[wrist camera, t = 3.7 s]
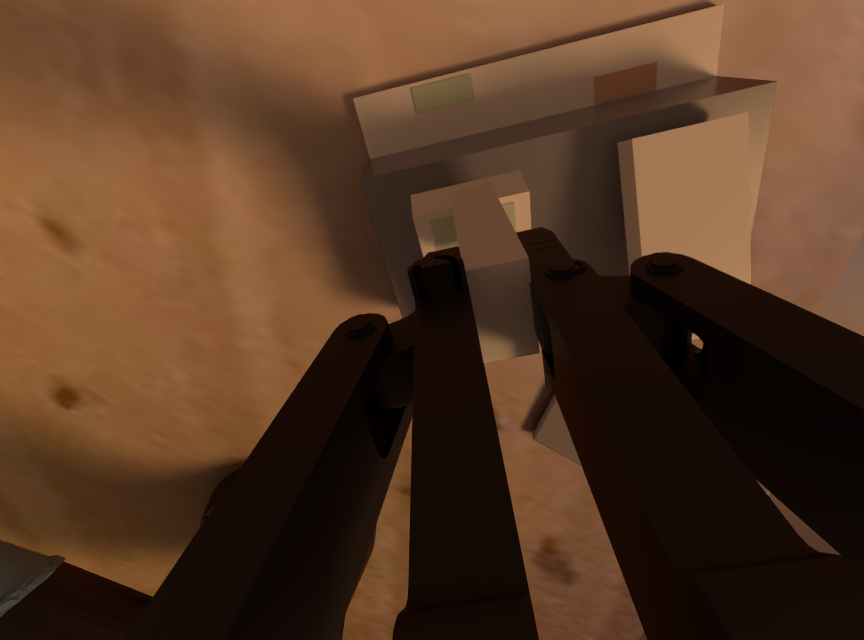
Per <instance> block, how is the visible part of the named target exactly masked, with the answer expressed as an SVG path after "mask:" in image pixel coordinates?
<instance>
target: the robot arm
mask: <svg viewBox="0 0 864 640" xmlns="http://www.w3.org/2000/svg"><path fill="white" fill-rule="evenodd" d="M449 195H450V200H451V206H452V211H453V216H454V222H455V227H456V233H457V238H458V244H459V246H457V247H452V248H447V249H443V250H438V251H433V252H429V253H427V254H426V256H425V257H423V258H421V259H419V260H417V261H415V262H414V263H413V264H412V265H410V266H409V268H408V270H407V274H408V277H409V281H410V285H411V288H412V292H413V295H414V299H415V311H414V312H413V313H411V314H410V315H408V316H407V317H405V318H403V319H401V320H398V321H396V322H393V323H391V324H388V322H387V320H386V318H385V317H384V316H382V315H380V314H373V313H368V314H363V315H362V314H360V315H356V316H355V317H354V316H353V317H351V318H349V319H348V320H346V321H345V322H343V323H342V324H340V325H339V326H338V327H337V328H336V329H335V330H334V332H333V333H332V335H331V336H330V338H329V339H328V340H327V342H326V343H325V345H324V346H323V348H322V349H321V351H320V352H319V354H318V355H317V357H316V358H315V360H314V361H313V363H312V364H311V365H310V367H309V368H308V370H307V371H306V373H305V374H304V376H303V377H302V379H301V380H300V382H299V383H298V385H297V386H296V388H295V389H294V391H293V392H292V393H291V395H290V396H289V398H288V399H287V401H286V402H285V404H284V405H283V407H282V408H281V410H280V411H279V413H278V414H277V416H276V417H275V418H274V420H273V421H272V423H271V424H270V426H269V427H268V429H267V430H266V432H265V433H264V435H263V436H262V438H261V439H260V441H259V442H258V443H257V445H256V446H255V448H254V449H253V451H252V452H251V454H250V455H249V457H248V458H247V460H246V461H245V463H244V464H243V466H242V467H241V468H240V470H238V471H236V472H234V473H232V474H230V475H229V476H227V477H226V478H225V479H223V480H222V481H221V482H220V483H219V484H218V485H217V487H216V488H215V490H214V491H213V493H212V495H211V498H210V500H209V502H208V504H207V506H206V508H205V510H204V513H203V515H202V519H201V523H200V529H199V530H198V532H197V533H196V535H195V536H194V538H193V539H192V541H191V542H190V544H189V545H188V546H187V548H186V549H185V551H184V552H183V554H182V555H181V557H180V558H179V560H178V561H177V563H176V564H175V566H174V567H173V569H172V570H171V572H170V573H169V574H168V576H167V577H166V579H165V580H164V582H163V583H162V585H161V586H160V588H159V589H158V591H157V592H156V594H155V595H154V597H152V596H150V595H147V594H145V593H142V592H140V591H137V590H135V589H132V588H129V587H127V586H124V585H122V584H119V583H117V582H114V581H112V580H109V579H107V578H104V577H102V576H99V575H97V574H94V573H92V572H89V571H87V570H84V569H82V568H79V567H76V566H74V565H71V564H69V563H66V562H64V560H65V558H64V557H61V556H59V555H52V556H47V555H44V554H41V553H38V552H35V551H31V550H28V549H25V548H22V547H19V546H16V545H13V544H10V543H7V542H4V541H1V540H0V640H342V635H343V628H344V621H345V615H346V611H347V608H348V606H349V604H350V602H351V599H352V597H353V595H354V592H355V590H356V588H357V586H358V583H359V581H360V579H361V576H362V574H363V572H364V570H365V567H366V565H367V563H368V560H369V558H370V556H371V553H372V551H373V547H374V543H375V535H376V524H377V520H378V517H379V514H380V511H381V508H382V505H383V502H384V499H385V496H386V493H387V490H388V487H389V484H390V481H391V478H392V475H393V472H394V469H395V466H396V463H397V460H398V458H399V455H400V452H401V449H402V446H403V443H404V440H405V437H406V434H407V431H408V428H409V425H410V422H411V419H412V416H413V419H412V460H411V502H410V543H409V585H408V600H407V604H406V607H405V608H404V609H403V610H402V611H401V612H400V613H399V614H398V615H397V619H396V622H395V626H394V630H393V640H539V637H538V632H537V627H536V622H535V617H534V612H533V607H532V602H531V597H530V592H529V587H528V582H527V577H526V572H525V567H524V562H523V557H522V552H521V547H520V542H519V537H518V532H517V527H516V522H515V517H514V512H513V507H512V502H511V497H510V492H509V487H508V482H507V477H506V472H505V467H504V462H503V457H502V452H501V447H500V442H499V437H498V432H497V427H496V422H495V417H494V412H493V407H492V402H491V397H490V392H489V387H488V382H487V377H486V372H485V367H484V363H488V362H494V361H499V360H505V359H510V358H515V357H521V356H526V355H531V354H537V353H539V344H538V340H539V342H540V345H541V347H542V356H543V365H544V374H545V383H546V388H549V387H550V383H551V386H552V389H553V391H554V394H555V397H556V399H557V402H558V405H559V407H560V410H561V412H562V415H563V418H564V420H565V423H566V426H567V428H568V431H569V434H570V436H571V439H572V442H573V444H574V447H575V450H576V452H577V455H578V457H579V460H580V463H581V465H582V468H583V471H584V473H585V476H586V479H587V481H588V484H589V487H590V489H591V492H592V494H593V497H594V500H595V502H596V505H597V508H598V510H599V513H600V516H601V518H602V521H603V524H604V526H605V529H606V532H607V534H608V537H609V539H610V542H611V545H612V547H613V550H614V553H615V555H616V558H617V561H618V563H619V566H620V569H621V571H622V574H623V577H624V579H625V582H626V584H627V587H628V590H629V592H630V595H631V598H632V600H633V603H634V606H635V608H636V611H637V614H638V616H639V619H640V622H641V624H642V627H643V629H644V632H645V634H646V637H647V640H864V336H862V335H860V334H857V333H855V332H853V331H850V330H848V329H846V328H844V327H842V326H840V325H837V324H836V323H833V322H831V321H829V320H827V319H825V318H822V317H820V316H818V315H816V314H814V313H812V312H809V311H807V310H805V309H803V308H801V307H798V306H796V305H794V304H792V303H790V302H788V301H785V300H783V299H781V298H779V297H777V296H774V295H772V294H770V293H768V292H766V291H764V290H761V289H759V288H757V287H755V286H753V285H750V284H748V283H746V282H744V281H742V280H740V279H737V278H735V277H733V276H731V275H729V274H726V273H724V272H722V271H720V270H718V269H716V268H713V267H711V266H709V265H707V264H705V263H702V262H700V261H698V260H696V259H694V258H692V257H689V256H685V255H682V254H676V253H670V252H662V253H660V252H657V253H653V254H650V255H645V256H642V257H640V258H638V259H636V260H635V261H634V262H633V263H632V264H631V265H630V275H628V276H600V275H598V274H597V273H596V272H595V270H594V269H593V268H592V266H591V265H589V264H588V263H587V262H585V261H581V260H578V259H572V258H571V256H570V255H569V253H568V252H567V251H566V249H565V248H564V246H562V244H561V242H560V241H559V240H558V238H557V237H556V235H555V234H554V232H553V231H550V230H548V229H545V228H543V227H539V228H534V229H530V230H525V231H520V232H515V230H514V228H513V226H512V224H511V222H510V220H509V218H508V216H507V214H506V212H505V210H504V208H503V206H502V204H501V202H500V200H499V199H498V197H497V195H496V193H495V191H494V189H493V187H492V185H491V183H487V184H483V185H478V186H474V187H469V188H465V189H461V190H456V191H452V192H449ZM692 333H694V334H695V335H697V336H698V337H699V338H700V339H701V340H702V341H703V348H702V349H700V348H698V347H696V346H695V345H693V344H692V343H691V342H692ZM756 480H757V481H758V482H759V483H760V484H762V485H763V486H764V487H765V488H766V489H767V490H768V491H769V492H771V493H772V494H773V495H774V496H775V497H776V498H777V499H778V500H780V501H781V502H782V503H783V504H784V505H785V506H786V507H787V508H789V509H790V510H791V511H792V512H793V513H794V514H795V515H797V516H798V517H799V518H800V519H801V520H802V521H803V522H805V523H806V524H807V525H808V526H809V527H810V528H811V529H812V530H813V531H815V532H816V533H817V534H818V535H819V536H820V537H821V538H823V539H824V540H825V541H826V542H827V543H828V544H829V545H830V546H832V547H833V548H834V549H835V550H836V551H837V552H838V553H839V554H841V555H835V554H828V553H821V552H818V551H816V550H815V549H813V548H812V547H810V546H808V545H807V544H806V542H805V541H804V540H803V539H802V538H801V537H800V536H799V535H798V534H797V533H796V531H795V530H794V529H793V527H792V526H791V525H790V524H789V522H788V521H787V520H786V518H785V517H784V516H783V514H782V513H781V512H780V510H779V509H778V508H777V507H776V506H775V504H774V503H773V501H772V500H771V499H770V497H769V496H768V495H767V494H766V492H765V491H764V490H763V488H762V487H761V486H760V484H759V483H758V482H757V481H756Z"/></svg>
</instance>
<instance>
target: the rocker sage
mask: <svg viewBox="0 0 864 640" xmlns="http://www.w3.org/2000/svg"><path fill="white" fill-rule="evenodd" d="M487 183H491V185H492V187H493V189H494V191H495V193H496V195H497V197H498V199H499V200H500V202H501V204H502V206H503V208H504V210H505V212H506V214H507V216H508V218H509V220H510V222H511V224H512V226H513V228H514V230H515V232H520V231H525V230H530V229H531V211H530V191H529V189H528V187H527V184H526V182H525V180H524V178H523V175H522V173H521V171H520V170H518V171H514V172H509V173H505V174H501V175H496V176H492V177H487V178H483V179H479V180H474V181H470V182H466V183H461V184H457V185H453V186H448V187H444V188H440V189H435V190H431V191H426V192H422V193H418V194H413V195H411V206H412V218H413V221H414V225H415V228H416V232H417V235H418V239H419V242H420V246H421V250H422V253H423V257H425V256H426V254H427V253H429V252H433V251H438V250H443V249H447V248H452V247H457V246H459V244H458V238H457V233H456V227H455V222H454V216H453V211H452V206H451V200H450V195H449V192H452V191H456V190H461V189H465V188H469V187H474V186H478V185H483V184H487Z"/></svg>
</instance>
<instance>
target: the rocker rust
mask: <svg viewBox="0 0 864 640" xmlns="http://www.w3.org/2000/svg"><path fill="white" fill-rule="evenodd" d="M617 146H618V157H619V167H620V178H621V189H622V200H623V210H624V221H625V232H626V243H627V254H628V264H629V275H630V265H631V264H632V263H633V262H634V261H635V260H636V259H638V258H640V257H642V256H645V255H650V254H653V253H657V252H660V253H662V252H670V253H676V254H682V255H685V256H689V257H692V258H694V259H696V260H698V261H700V262H702V263H705V264H707V265H709V266H711V267H713V268H716V269H718V270H720V271H722V272H724V273H726V274H729V275H731V276H733V277H735V278H737V279H740V280H742V281H744V282H746V283H748V284H750V285H751V263H750V187H749V112H746V113H742V114H738V115H733V116H729V117H725V118H720V119H716V120H712V121H707V122H703V123H699V124H694V125H690V126H686V127H681V128H677V129H673V130H668V131H664V132H660V133H655V134H651V135H647V136H642V137H638V138H634V139H630V140H626V141H622V142H618V143H617ZM696 339H700V338H699V337H698V336H697V335H695V334H694V333H692V340H696Z"/></svg>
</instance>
